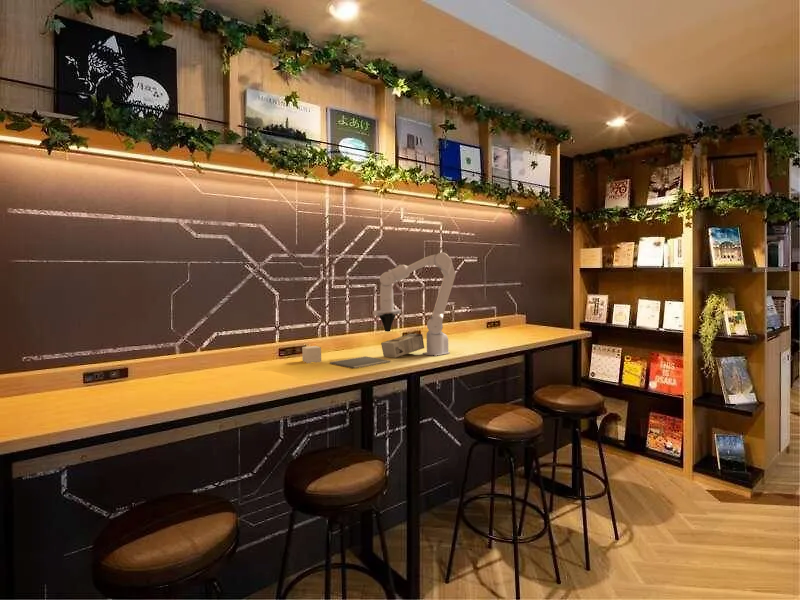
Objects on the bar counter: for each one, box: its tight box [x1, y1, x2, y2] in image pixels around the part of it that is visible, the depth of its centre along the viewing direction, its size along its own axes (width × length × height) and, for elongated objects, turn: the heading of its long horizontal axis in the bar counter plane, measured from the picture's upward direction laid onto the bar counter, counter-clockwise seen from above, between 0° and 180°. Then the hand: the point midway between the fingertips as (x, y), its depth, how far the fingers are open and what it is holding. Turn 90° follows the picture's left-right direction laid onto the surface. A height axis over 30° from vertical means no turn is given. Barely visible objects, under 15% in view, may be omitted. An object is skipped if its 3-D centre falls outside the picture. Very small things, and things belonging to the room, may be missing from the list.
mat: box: [329, 356, 392, 369], centre depth 182 cm, size 18×16×1 cm
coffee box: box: [380, 333, 425, 359], centre depth 198 cm, size 9×6×16 cm
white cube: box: [301, 345, 322, 364], centre depth 188 cm, size 6×6×6 cm
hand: (387, 331), depth 200 cm, fingers closed
